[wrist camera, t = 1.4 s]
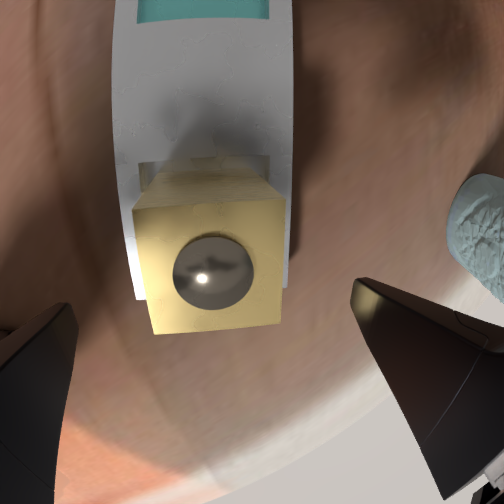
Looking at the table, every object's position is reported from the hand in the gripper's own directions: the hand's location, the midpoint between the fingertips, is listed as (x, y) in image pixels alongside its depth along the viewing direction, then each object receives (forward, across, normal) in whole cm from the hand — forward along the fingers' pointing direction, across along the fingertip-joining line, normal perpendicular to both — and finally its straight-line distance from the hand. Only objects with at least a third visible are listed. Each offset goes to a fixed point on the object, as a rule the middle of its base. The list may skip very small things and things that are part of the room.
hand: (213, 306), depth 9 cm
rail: (+10, 0, -7) cm, 12 cm away
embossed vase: (+10, -23, +1) cm, 25 cm away
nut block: (+9, 0, 0) cm, 9 cm away
